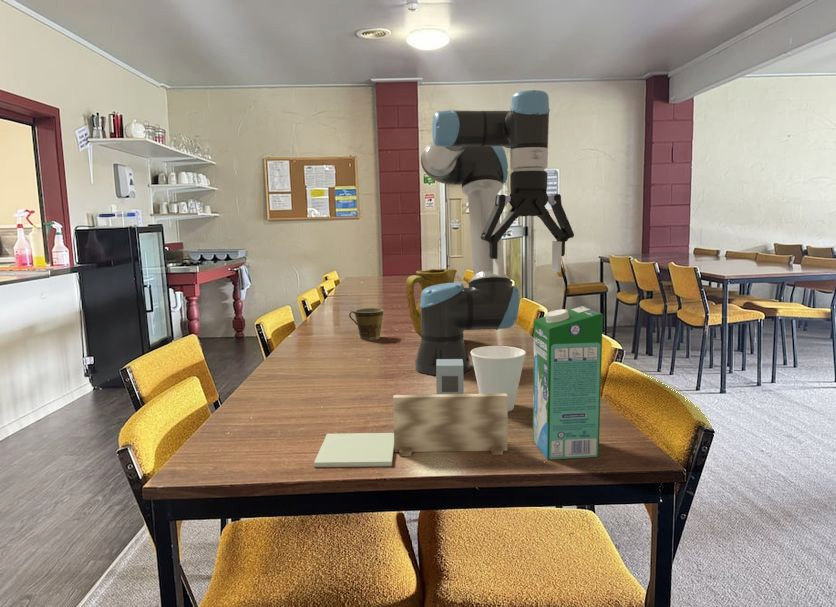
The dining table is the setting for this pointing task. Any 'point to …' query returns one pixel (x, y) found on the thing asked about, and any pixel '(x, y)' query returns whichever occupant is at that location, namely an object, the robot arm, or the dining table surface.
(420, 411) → the birch screen
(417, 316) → the pitcher
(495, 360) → the cup
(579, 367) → the milk carton
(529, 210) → the robot arm
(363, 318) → the ceramic cup
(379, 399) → the dining table surface
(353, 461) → the mat
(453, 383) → the block
